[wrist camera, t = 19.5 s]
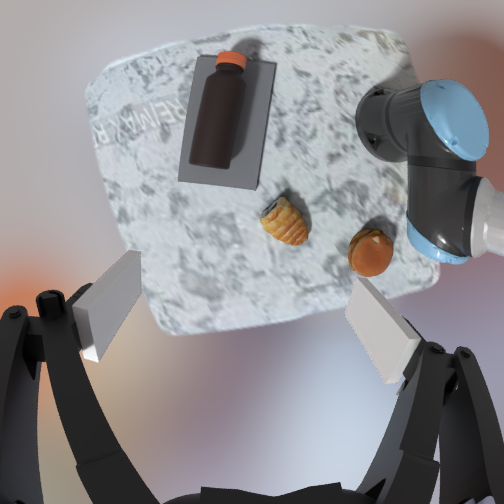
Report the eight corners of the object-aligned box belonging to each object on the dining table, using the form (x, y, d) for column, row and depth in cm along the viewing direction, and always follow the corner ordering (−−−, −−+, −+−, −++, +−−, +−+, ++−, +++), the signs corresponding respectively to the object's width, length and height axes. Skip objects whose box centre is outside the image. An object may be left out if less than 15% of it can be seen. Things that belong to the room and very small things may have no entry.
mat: (274, 66, 40) (275, 64, 39) (255, 189, 48) (255, 190, 47) (198, 58, 39) (197, 56, 38) (178, 181, 47) (177, 181, 46)
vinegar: (229, 169, 46) (251, 66, 40) (228, 170, 39) (254, 52, 33) (191, 163, 45) (213, 60, 39) (184, 164, 38) (211, 46, 32)
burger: (353, 278, 55) (362, 288, 50) (339, 241, 52) (348, 249, 48) (391, 257, 54) (401, 265, 49) (379, 220, 51) (390, 225, 46)
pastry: (315, 226, 51) (320, 232, 47) (290, 251, 52) (294, 258, 49) (280, 193, 48) (283, 195, 45) (255, 219, 50) (256, 224, 46)
